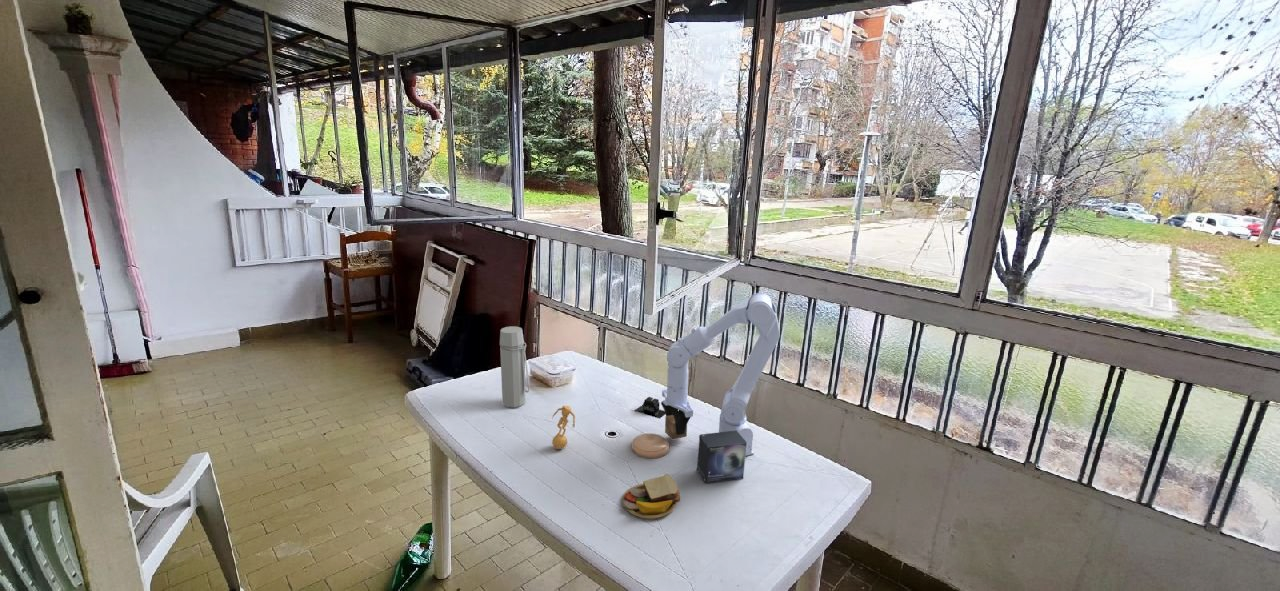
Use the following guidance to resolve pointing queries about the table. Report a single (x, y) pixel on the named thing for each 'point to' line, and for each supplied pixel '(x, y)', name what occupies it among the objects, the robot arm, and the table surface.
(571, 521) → the table surface
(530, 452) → the table surface
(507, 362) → the water bottle
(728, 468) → the small box
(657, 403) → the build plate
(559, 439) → the figurine
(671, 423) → the walnut block
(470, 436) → the table surface
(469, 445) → the table surface
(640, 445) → the pedestal
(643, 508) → the toy sandwich meal
